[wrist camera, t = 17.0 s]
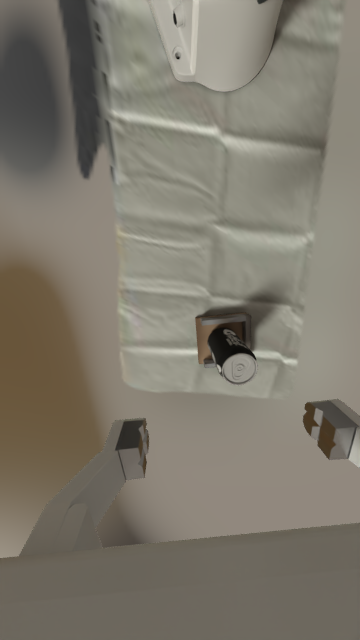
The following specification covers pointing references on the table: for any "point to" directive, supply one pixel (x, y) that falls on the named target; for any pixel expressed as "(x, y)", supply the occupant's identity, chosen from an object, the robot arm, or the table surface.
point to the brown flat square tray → (210, 323)
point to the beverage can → (232, 356)
